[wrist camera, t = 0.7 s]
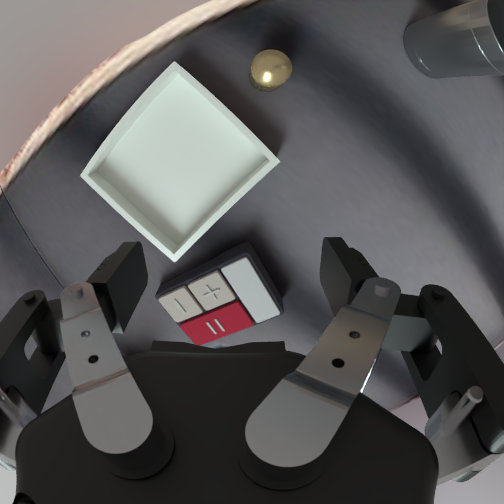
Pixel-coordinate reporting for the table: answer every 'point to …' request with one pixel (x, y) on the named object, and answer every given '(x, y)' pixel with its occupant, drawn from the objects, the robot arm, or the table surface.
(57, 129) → the table surface
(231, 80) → the table surface
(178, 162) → the tray
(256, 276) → the calculator
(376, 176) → the table surface
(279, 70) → the cylinder
